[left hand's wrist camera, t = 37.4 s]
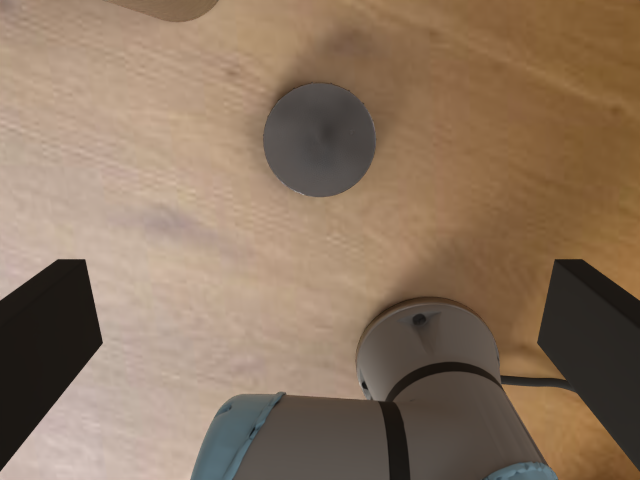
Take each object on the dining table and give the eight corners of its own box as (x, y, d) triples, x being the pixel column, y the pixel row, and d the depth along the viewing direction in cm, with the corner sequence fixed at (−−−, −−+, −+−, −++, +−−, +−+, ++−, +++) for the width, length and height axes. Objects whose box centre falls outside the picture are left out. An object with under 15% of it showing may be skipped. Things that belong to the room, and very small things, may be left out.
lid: (274, 70, 38) (272, 70, 37) (386, 94, 39) (389, 95, 37) (257, 181, 42) (254, 185, 40) (360, 201, 42) (362, 206, 41)
